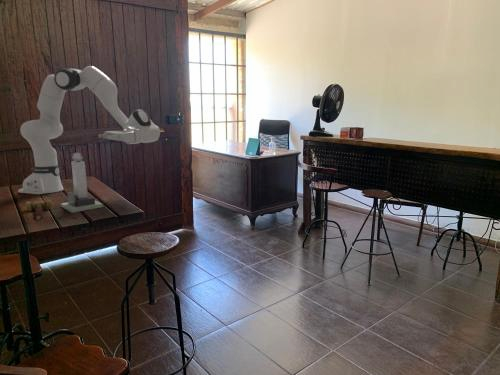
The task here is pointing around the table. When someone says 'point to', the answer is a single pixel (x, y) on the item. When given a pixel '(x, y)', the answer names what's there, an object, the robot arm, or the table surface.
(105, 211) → the table surface
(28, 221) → the table surface
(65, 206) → the keeper bracket
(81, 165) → the steel link
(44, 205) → the gavel
